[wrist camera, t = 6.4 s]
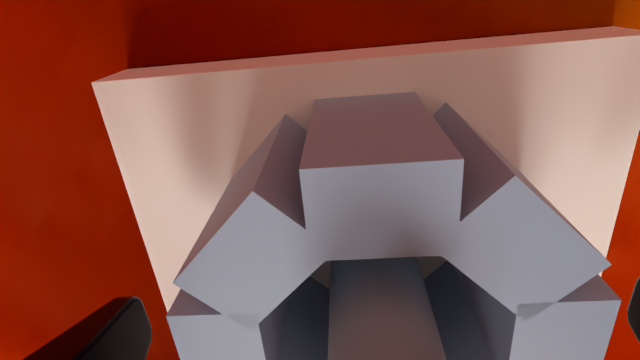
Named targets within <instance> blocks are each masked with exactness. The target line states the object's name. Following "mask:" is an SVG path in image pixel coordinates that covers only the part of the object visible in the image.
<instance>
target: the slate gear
mask: <svg viewBox="0 0 640 360" xmlns="http://www.w3.org/2000/svg"><path fill="white" fill-rule="evenodd" d="M422 256H442V257H444V258H445V259H446V260H447V261H446V262H445V263H443V264H442V265H441V266H440V267H438V268H437V269H436V270H435V271H433V272H432V273H431V274H430V275H428V276H427V277H426V278H425V279H423V280H424V283H425V287H426V290H427V293H428V297H429V300H430V304H431V307H432V311H433V314H434V318H435V321H436V324H437V328H438V331H439V335H440V338H441V342H442V345H443V349H444V352H445V355H446V359H447V360H604V357H605V353H606V350H607V347H608V343H609V340H610V337H611V333H612V330H613V327H614V323H615V320H616V317H617V313H618V310H619V307H620V303H621V299H620V298H619V297H618V296H617V295H616V293H615V292H614V291H613V290H612V289H611V288H610V287H609V286H608V285H607V284H606V282H605V281H604V280H603V279H602V278H601V277H600V276H599V275H598V274H599V273H600V272H602V271H603V270H605V269H606V268H608V267H609V266H611V265H612V264H611V263H610V262H609V261H608V260H607V259H606V258H605V257H604V256H603V255H602V254H601V253H600V252H599V251H598V250H597V249H596V248H595V247H594V246H593V245H592V244H591V243H590V242H589V241H588V240H587V239H586V238H585V237H584V236H583V235H582V234H581V233H580V232H579V231H578V230H577V229H576V228H575V227H574V226H573V225H572V224H571V223H570V222H569V221H568V220H567V219H566V218H565V217H564V216H563V215H562V214H561V213H560V212H559V211H558V210H557V209H556V208H555V207H554V206H553V205H552V204H551V203H550V202H549V201H548V200H547V198H546V197H545V196H544V195H543V194H542V193H541V192H540V191H539V190H538V189H537V188H536V187H535V186H534V185H533V184H532V183H531V182H530V181H529V180H528V179H527V178H526V177H525V176H524V175H523V174H522V173H521V172H520V171H519V170H518V169H517V168H516V167H515V166H514V165H513V164H512V163H511V162H510V161H509V160H508V159H507V158H506V157H504V156H503V155H502V154H501V153H500V152H499V151H498V150H497V149H496V148H495V147H494V146H493V145H492V144H491V143H489V142H488V141H487V140H486V139H485V138H484V137H483V136H482V135H481V134H480V133H479V132H478V131H477V130H476V129H475V128H473V127H472V126H471V125H470V124H469V123H468V122H467V121H466V120H465V119H464V118H463V117H462V116H461V115H460V114H458V113H457V112H456V111H455V110H454V109H453V108H452V107H451V106H450V105H449V104H448V103H447V102H446V103H445V104H444V105H443V106H442V107H441V108H440V109H439V110H438V111H437V112H436V113H435V114H434V115H433V116H432V114H431V113H430V112H429V110H428V109H427V108H426V106H425V105H424V104H423V102H422V101H421V100H420V98H419V97H418V95H417V94H416V93H415V92H402V93H389V94H376V95H363V96H350V97H337V98H323V99H314V104H313V108H312V113H311V117H310V122H309V126H308V131H306V130H305V129H304V128H302V127H301V126H300V125H299V124H297V123H296V122H295V121H294V120H292V119H291V118H290V117H289V116H288V115H286V114H285V115H284V116H283V118H282V119H281V120H280V121H279V122H278V124H277V125H276V126H275V127H274V128H273V130H272V131H271V132H270V133H269V134H268V136H267V137H266V138H265V139H264V141H263V142H262V143H261V144H260V145H259V147H258V148H257V149H256V150H255V151H254V153H253V154H252V155H251V156H250V157H249V159H248V160H247V161H246V162H245V163H244V165H243V166H242V167H241V168H240V169H239V171H238V172H237V173H236V174H235V176H234V177H233V178H232V179H231V181H230V182H229V184H228V186H227V188H226V189H225V191H224V193H223V195H222V197H221V198H220V200H219V202H218V204H217V205H216V207H215V209H214V211H213V212H212V214H211V216H210V218H209V220H208V221H207V223H206V225H205V227H204V228H203V230H202V232H201V234H200V235H199V237H198V239H197V241H196V242H195V244H194V246H193V248H192V250H191V251H190V253H189V255H188V257H187V258H186V260H185V262H184V264H183V265H182V267H181V269H180V271H179V273H178V274H177V276H176V278H175V280H174V281H173V284H174V285H176V286H178V287H179V288H181V289H180V291H179V293H178V295H177V296H176V298H175V300H174V302H173V304H172V306H171V308H170V310H169V312H168V313H167V315H166V318H167V321H168V324H169V327H170V330H171V333H172V336H173V339H174V342H175V345H176V348H177V351H178V354H179V357H180V360H328V334H329V302H330V290H329V289H328V288H326V287H325V286H324V285H322V284H321V283H319V282H318V281H316V280H315V279H313V278H312V277H311V276H310V275H311V274H312V273H313V272H314V271H315V270H316V269H317V268H318V267H319V266H320V265H322V264H323V263H324V262H325V261H334V260H356V259H378V258H400V257H422Z"/></svg>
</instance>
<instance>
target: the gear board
mask: <svg viewBox="0 0 640 360" xmlns="http://www.w3.org/2000/svg"><path fill="white" fill-rule="evenodd" d="M91 84H92V87H93V90H94V93H95V96H96V99H97V102H98V105H99V108H100V111H101V114H102V117H103V120H104V123H105V126H106V129H107V132H108V135H109V138H110V141H111V144H112V147H113V150H114V153H115V156H116V159H117V162H118V165H119V168H120V171H121V174H122V177H123V180H124V183H125V186H126V189H127V192H128V195H129V198H130V201H131V204H132V207H133V210H134V213H135V216H136V219H137V222H138V225H139V228H140V231H141V234H142V237H143V240H144V243H145V246H146V249H147V252H148V255H149V258H150V261H151V264H152V267H153V271H154V274H155V277H156V280H157V283H158V286H159V289H160V292H161V295H162V298H163V301H164V304H165V307H166V310H167V313H168V312H169V310H170V308H171V306H172V304H173V302H174V300H175V298H176V296H177V295H178V293H179V291H180V289H181V288H179V287H178V286H176V285H174V284H173V281H174V280H175V278H176V276H177V274H178V273H179V271H180V269H181V267H182V265H183V264H184V262H185V260H186V258H187V257H188V255H189V253H190V251H191V250H192V248H193V246H194V244H195V242H196V241H197V239H198V237H199V235H200V234H201V232H202V230H203V228H204V227H205V225H206V223H207V221H208V220H209V218H210V216H211V214H212V212H213V211H214V209H215V207H216V205H217V204H218V202H219V200H220V198H221V197H222V195H223V193H224V191H225V189H226V188H227V186H228V184H229V182H230V181H231V179H232V178H233V177H234V176H235V174H236V173H237V172H238V171H239V169H240V168H241V167H242V166H243V165H244V163H245V162H246V161H247V160H248V159H249V157H250V156H251V155H252V154H253V153H254V151H255V150H256V149H257V148H258V147H259V145H260V144H261V143H262V142H263V141H264V139H265V138H266V137H267V136H268V134H269V133H270V132H271V131H272V130H273V128H274V127H275V126H276V125H277V124H278V122H279V121H280V120H281V119H282V118H283V116H284V115H285V114H286V115H288V116H289V117H290V118H291V119H292V120H294V121H295V122H296V123H297V124H299V125H300V126H301V127H302V128H304V129H305V130H306V131H308V126H309V122H310V117H311V113H312V108H313V104H314V99H323V98H337V97H350V96H363V95H376V94H389V93H402V92H415V93H416V94H417V95H418V97H419V98H420V100H421V101H422V102H423V104H424V105H425V106H426V108H427V109H428V110H429V112H430V113H431V114H432V116H433V115H434V114H435V113H436V112H437V111H438V110H439V109H440V108H441V107H442V106H443V105H444V104H445V103H446V102H447V103H448V104H449V105H450V106H451V107H452V108H453V109H454V110H455V111H456V112H457V113H458V114H460V115H461V116H462V117H463V118H464V119H465V120H466V121H467V122H468V123H469V124H470V125H471V126H472V127H473V128H475V129H476V130H477V131H478V132H479V133H480V134H481V135H482V136H483V137H484V138H485V139H486V140H487V141H488V142H489V143H491V144H492V145H493V146H494V147H495V148H496V149H497V150H498V151H499V152H500V153H501V154H502V155H503V156H504V157H506V158H507V159H508V160H509V161H510V162H511V163H512V164H513V165H514V166H515V167H516V168H517V169H518V170H519V171H520V172H521V173H522V174H523V175H524V176H525V177H526V178H527V179H528V180H529V181H530V182H531V183H532V184H533V185H534V186H535V187H536V188H537V189H538V190H539V191H540V192H541V193H542V194H543V195H544V196H545V197H546V198H547V200H548V201H549V202H550V203H551V204H552V205H553V206H554V207H555V208H556V209H557V210H558V211H559V212H560V213H561V214H562V215H563V216H564V217H565V218H566V219H567V220H568V221H569V222H570V223H571V224H572V225H573V226H574V227H575V228H576V229H577V230H578V231H579V232H580V233H581V234H582V235H583V236H584V237H585V238H586V239H587V240H588V241H589V242H590V243H591V244H592V245H593V246H594V247H595V248H596V249H597V250H598V251H599V252H600V253H601V254H602V255H603V256H604V257H605V258H606V256H607V252H608V248H609V244H610V241H611V237H612V233H613V229H614V225H615V221H616V218H617V214H618V210H619V206H620V202H621V198H622V194H623V191H624V187H625V183H626V179H627V175H628V171H629V168H630V164H631V160H632V156H633V152H634V148H635V145H636V141H637V137H638V133H639V129H640V30H638V29H631V28H623V27H616V26H610V27H599V28H587V29H576V30H565V31H553V32H542V33H531V34H519V35H508V36H497V37H486V38H474V39H463V40H452V41H440V42H429V43H418V44H406V45H395V46H384V47H372V48H361V49H350V50H338V51H327V52H316V53H304V54H293V55H282V56H270V57H259V58H248V59H236V60H225V61H214V62H203V63H191V64H180V65H169V66H157V67H146V68H135V69H126V70H123V71H120V72H118V73H115V74H112V75H110V76H107V77H105V78H102V79H99V80H97V81H94V82H91ZM446 261H447V260H446V259H445V258H444V257H442V256H422V257H400V258H378V259H356V260H334V261H325V262H324V263H323V264H322V265H320V266H319V267H318V268H317V269H316V270H315V271H314V272H313V273H312V274H311V275H310V276H311V277H312V278H313V279H315V280H316V281H318V282H319V283H321V284H322V285H324V286H325V287H326V288H328V289H329V290H330V302H329V334H328V360H447V359H446V355H445V352H444V349H443V345H442V342H441V338H440V335H439V331H438V328H437V324H436V321H435V318H434V314H433V311H432V307H431V304H430V300H429V297H428V293H427V290H426V287H425V283H424V280H423V279H425V278H426V277H427V276H428V275H430V274H431V273H432V272H433V271H435V270H436V269H437V268H438V267H440V266H441V265H442V264H443V263H445V262H446ZM598 275H599V276H600V277H601V275H602V272H600V273H599V274H598Z"/></svg>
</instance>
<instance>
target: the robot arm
mask: <svg viewBox="0 0 640 360" xmlns="http://www.w3.org/2000/svg"><path fill="white" fill-rule="evenodd" d="M627 318H628V322H629V324H630V327H631V329H632V330H633V332H634V334H635V336H636V338H637V339H638V341H639V343H640V277H639V278H638V279H637V281H636V284H635V287H634V290H633V293H632V297H631V300H630V303H629V306H628V310H627ZM151 339H152V328H151V325H150V322H149V319H148V316H147V314H146V311H145V308H144V305H143V303H142V301H141V299H140V298H139V297H135V296H131V297H117V298H115V299H113V300H112V301H110V302H109V303H107V304H106V305H104V306H103V307H101V308H100V309H98V310H97V311H95V312H94V313H92V314H91V315H89V316H88V317H86V318H85V319H83V320H82V321H80V322H79V323H77V324H76V325H74V326H72V327H71V328H69V329H68V330H66V331H65V332H63V333H62V334H60V335H59V336H57V337H56V338H54V339H53V340H51V341H50V342H48V343H47V344H45V345H44V346H42V347H41V348H39V349H38V350H36V351H35V352H33V353H32V354H30V355H29V356H27V357H26V358H24V359H23V360H146V356H147V353H148V350H149V347H150V343H151Z"/></svg>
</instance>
